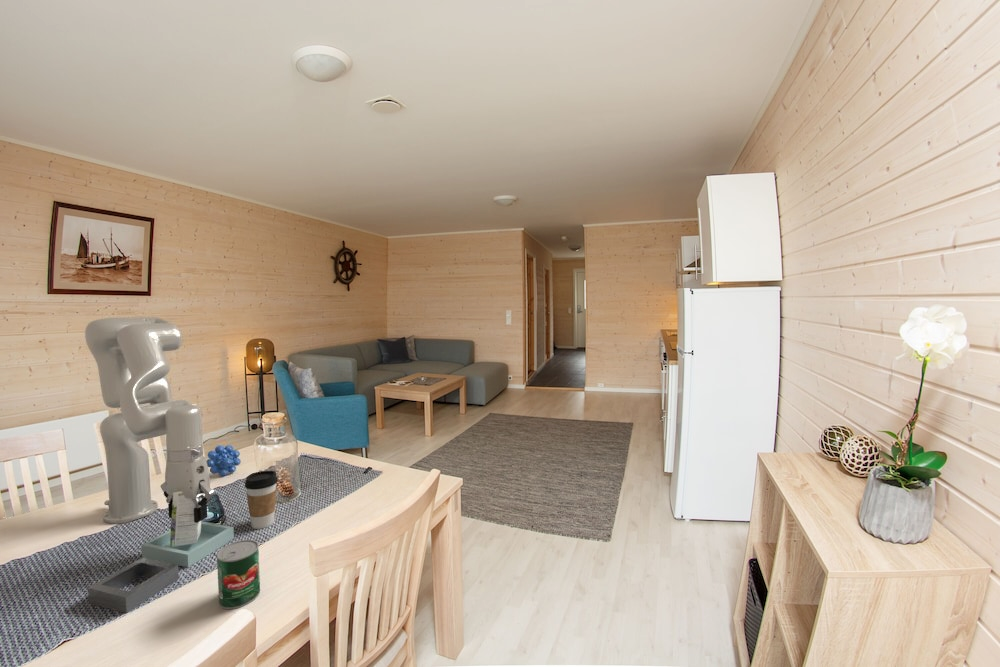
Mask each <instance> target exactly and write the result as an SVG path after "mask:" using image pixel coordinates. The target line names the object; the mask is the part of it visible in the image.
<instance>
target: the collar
mask: <svg viewBox="0 0 1000 667" xmlns="http://www.w3.org/2000/svg"><path fill="white" fill-rule="evenodd" d="M139 578H146V580H145V581H142V582H140V584H138V585H136V586H135V587H133V588H132V589H130V590H125V589H123V588H124V587H126V586H127V585H130V584H131V583H132V582H135V581H136V580H138V579H139ZM178 580H179V565H175V564H170V563H165V562H161V561H156V560H152V559H147V558H143V557H141V558H139V559H138V560H136V561H134V562H132V563H131V564H128V565H127V566H124V567H123V568H121V569H119V570H118V571H116V572H114V573H112V574H110V575H108V576H106V577H104V578H103V579H100V580H99V581H97V582H95V583H94V584H92V585H90V586H88V587H87V595H88V596H87V597H88V604H91V605H95V606H99V607H103V608H107V609H110V610H114V611H118V612H121V613H125V614H127V613H130V612H131V611H132V610H134V609H135V608H137V607H139V606H140V605H141V604H143V603H145V602H147V600H149V599H150V598H152V597H153V596H155V595H157V594H159V593H161V591H163V590H164V589H166V588H168V587H169V586H171V585H173V584H174V583H175V582H177V581H178Z"/></svg>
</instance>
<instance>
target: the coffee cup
mask: <svg viewBox="0 0 1000 667" xmlns="http://www.w3.org/2000/svg"><path fill="white" fill-rule="evenodd" d="M278 478H279V477H278V476H277V472H276V471H275V470H261V471H257V472H253V473H250V474H249V475H247V476H246V478H245V482H244V488H245V489H246V499H247V506H248V513H249V514H248V515H249V519H250V526H251V528H252V529H255V530H259V529H265V528H268V527H270V526H272V525H273V524H274V522H275V514H276V513H275V512H276V502H277V501H276V500H277V484H278Z"/></svg>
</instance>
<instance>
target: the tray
mask: <svg viewBox="0 0 1000 667" xmlns="http://www.w3.org/2000/svg"><path fill="white" fill-rule="evenodd" d="M234 529H235V528H234V526H230V525H223V524H220V523H214V522H208V521H207V522H206V521H203V520H202V524H201V534H200V536H199V538H198V541H197V543H194V544H188V545H182V546H176V547H170V537H171V529H169V530H167V531H166V532H164V533H162V534H160V535H158V536H157V537H155V538H153V539H151V540H149V541H147V542H145V543H143V544H141V556H142V557H141V558H147V559H151V560H156V561H160V562H165V563H170V564H174V565H178V567H179V566H180V567H185V568H190V567H192V566H193V565H195V564H196V563H198V562H199V561H201V560H202V559H204V558H206V557H207V556H209V555H211V553H214V552H215V551H217V550H218V549H220V548H222V547H224V545H226V544H228V543H229V542H232V540H233V539H234V538H235V534H234V533H235V531H234Z"/></svg>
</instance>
